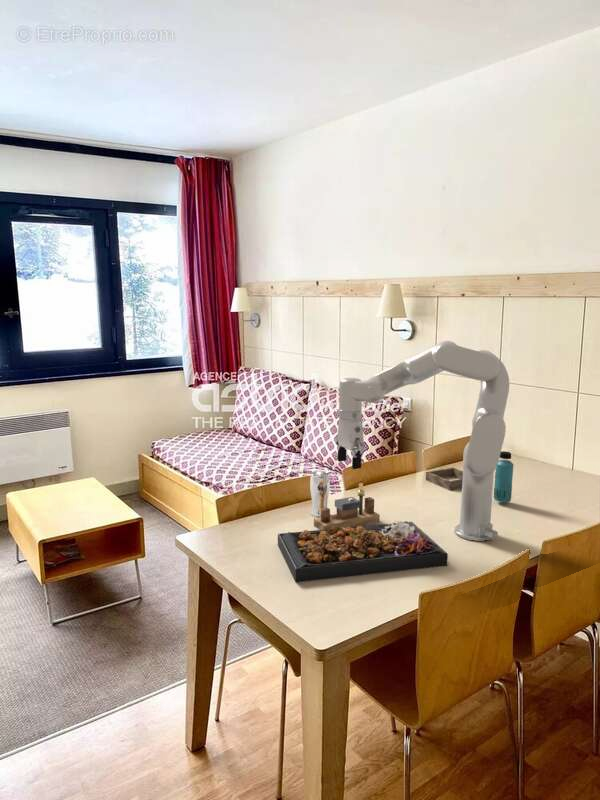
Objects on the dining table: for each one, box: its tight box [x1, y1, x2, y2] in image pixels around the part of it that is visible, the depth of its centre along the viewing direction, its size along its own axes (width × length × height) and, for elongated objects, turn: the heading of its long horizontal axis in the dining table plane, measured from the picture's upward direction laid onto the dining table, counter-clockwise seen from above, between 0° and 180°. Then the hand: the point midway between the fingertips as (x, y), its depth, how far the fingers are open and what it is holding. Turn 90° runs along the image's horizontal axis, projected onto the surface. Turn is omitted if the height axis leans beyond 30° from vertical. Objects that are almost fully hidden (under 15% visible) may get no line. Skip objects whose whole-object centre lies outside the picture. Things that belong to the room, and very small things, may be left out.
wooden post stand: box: [313, 496, 381, 530], centre depth 198 cm, size 7×22×9 cm, turn 117°
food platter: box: [277, 520, 449, 583], centre depth 174 cm, size 45×25×10 cm, turn 103°
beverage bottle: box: [493, 450, 515, 503], centre depth 218 cm, size 6×7×20 cm
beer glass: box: [309, 470, 331, 518], centre depth 206 cm, size 7×7×15 cm
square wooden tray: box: [425, 467, 463, 491], centre depth 244 cm, size 15×15×4 cm
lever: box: [357, 482, 366, 497], centre depth 203 cm, size 2×10×2 cm, turn 175°
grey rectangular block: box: [334, 496, 360, 511], centre depth 198 cm, size 5×7×3 cm
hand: (349, 464), depth 197 cm, fingers open, 9 cm apart
